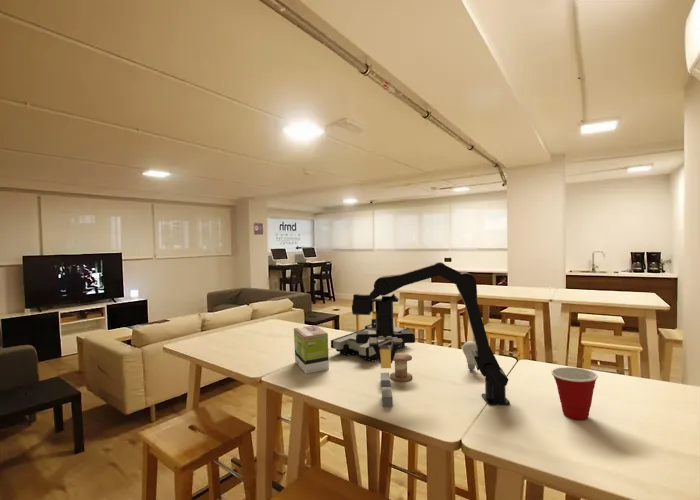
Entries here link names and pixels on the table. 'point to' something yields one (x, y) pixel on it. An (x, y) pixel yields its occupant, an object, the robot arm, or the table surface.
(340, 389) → the table surface
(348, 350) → the game console
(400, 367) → the bobbin
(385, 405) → the grey square bar
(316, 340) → the tea box
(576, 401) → the plastic cup
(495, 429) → the table surface
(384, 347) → the tab block
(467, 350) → the lightbulb
